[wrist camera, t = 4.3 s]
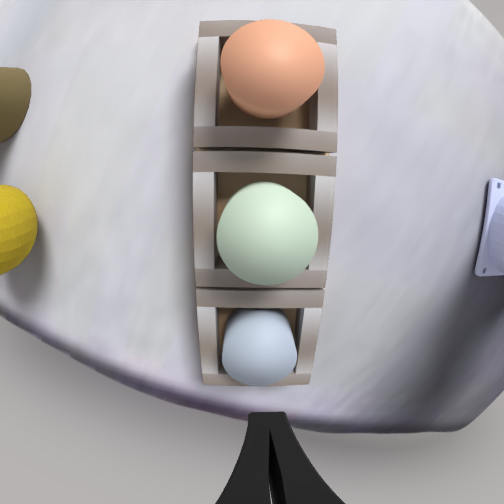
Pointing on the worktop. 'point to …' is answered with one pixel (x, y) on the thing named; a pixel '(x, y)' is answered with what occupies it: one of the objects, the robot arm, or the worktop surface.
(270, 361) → the button slate
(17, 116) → the pepper mill
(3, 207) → the lemon
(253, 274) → the button sage
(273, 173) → the panel
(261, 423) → the robot arm
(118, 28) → the worktop surface
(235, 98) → the button terracotta
